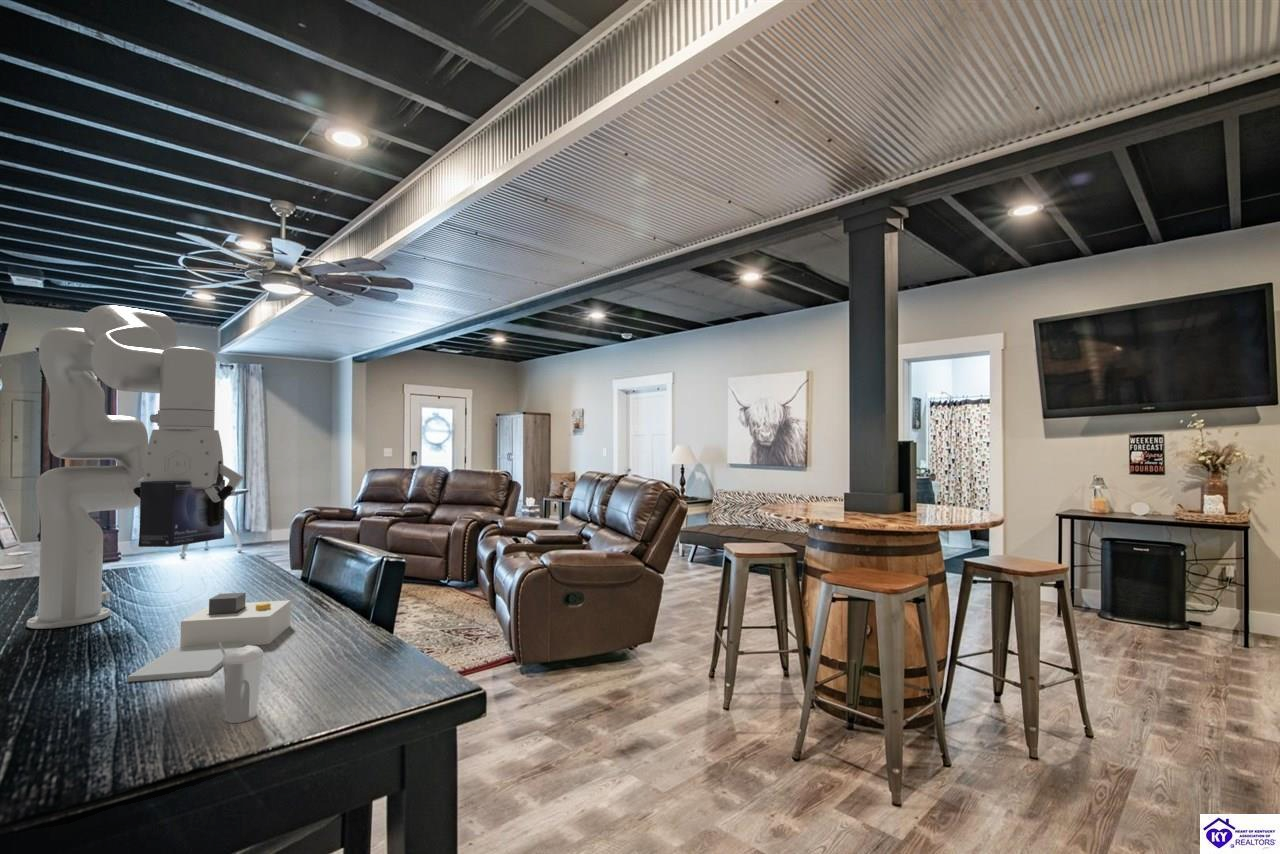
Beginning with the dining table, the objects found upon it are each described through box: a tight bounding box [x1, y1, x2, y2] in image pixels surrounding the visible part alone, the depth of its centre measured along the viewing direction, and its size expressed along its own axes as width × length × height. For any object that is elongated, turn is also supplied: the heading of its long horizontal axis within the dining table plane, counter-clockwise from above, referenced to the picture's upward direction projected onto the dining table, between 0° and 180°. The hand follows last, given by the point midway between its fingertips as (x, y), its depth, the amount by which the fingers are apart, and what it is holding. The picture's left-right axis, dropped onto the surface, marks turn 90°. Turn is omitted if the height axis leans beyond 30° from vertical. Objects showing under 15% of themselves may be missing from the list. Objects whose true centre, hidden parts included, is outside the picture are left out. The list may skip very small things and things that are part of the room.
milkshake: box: [218, 642, 265, 724], centre depth 81 cm, size 4×5×10 cm
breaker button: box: [208, 592, 247, 615], centre depth 115 cm, size 4×4×6 cm
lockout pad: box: [126, 643, 245, 683], centre depth 101 cm, size 14×11×1 cm
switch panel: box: [179, 599, 292, 647], centre depth 115 cm, size 12×14×6 cm
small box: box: [137, 479, 226, 548], centre depth 102 cm, size 11×6×10 cm, turn 171°
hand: (184, 525), depth 102 cm, fingers closed on small box, 8 cm apart
